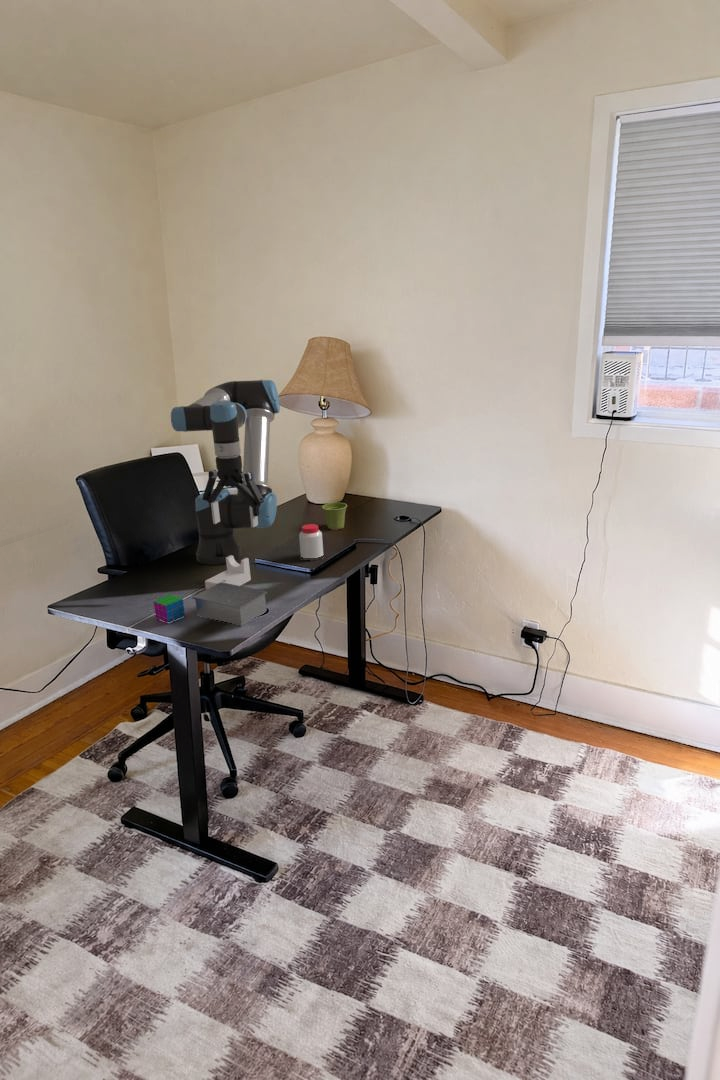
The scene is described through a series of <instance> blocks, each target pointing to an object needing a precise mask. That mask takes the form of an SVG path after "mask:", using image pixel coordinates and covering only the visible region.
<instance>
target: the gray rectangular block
mask: <svg viewBox="0 0 720 1080" xmlns="http://www.w3.org/2000/svg"><path fill="white" fill-rule="evenodd" d="M266 594H268V591H266V590H263V589H257V588H252V587H246V586H242V585H241V586H238V585H233V584H228V583H223V582H220V583H218V584H216V585H214V586H212V587H211V588H209V589H204V590H203V591H201V592H199V593H198V594H195V595H193V596H192V600H195V607H196V616H197V615H199V616H202V617H201V618H203V617H206V618H205V619H207V618H210V619H209V620H212V619H215V620H214V621H216V620H219V621H218V622H220V621H224V622H228V623H227V624H229V623H232V624H231V625H233V624H236V625H235V626H237V625H240V626H239V627H243V626H242V625H244V624H245V625H247V624H248V623H250V622H252V621H253V620H254V619H253V618H255V617H256V618H258V617H259V615H260V614H261V615H263V614H264V613H266V612H267V604H266V603H267V601H266ZM262 613H263V614H262ZM261 615H260V616H261ZM199 616H198V617H199ZM257 616H258V617H257ZM256 618H255V619H256ZM252 619H253V620H252ZM251 620H252V621H251ZM249 621H250V622H249ZM224 622H223V623H224ZM246 623H247V624H246ZM245 625H244V626H245Z"/></svg>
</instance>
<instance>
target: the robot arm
mask: <svg viewBox="0 0 720 1080" xmlns="http://www.w3.org/2000/svg"><path fill="white" fill-rule="evenodd" d="M280 411H281V408H280V398H279V391H278V390H277V386H276V383H275V382H274V381H273V380H270V379H260V380H259V379H258V380H238V381H237V380H236V381H235V380H231V381H227V382H224V383H221V384H218V385H216V386H214V387H211V388H209V389H208V390H207V391H206V392H205V393H204V394H203V396H202V397H201V398H199V399H197V400H195V401H194V402H193V403H191V404H190V405H187V406H184V405H183V406H182V405H181V406H174V407H173V408H172V409H171V411H170V424H171V426H172V429H173V430H174V431H176V432H184V433H187V432H201V431H207V432H208V431H212V440H213V447H214V456H216V458H215V466H216V469H217V470H216V469H212V470H210V471H208V480H207V483H206V486H205V488H204V491H203V492H202V493H201V494H199V495H197V497H195V500H194V502H195V505H194V506H195V510H194V511H195V514H196V521H197V528H198V529H197V530H198V538H199V539H198V544H197V548H196V553H195V555H196V561H197V562H198V563H199V564H203V565H209V566H215V565H216V566H217V565H224V564H226V557H228V556H230V555H233V556H234V559H235V561H237V560H239V559H240V558H241V556H242V552H241V551H242V550H241V547H240V546H239V544H238V541H237V539H236V537H235V533H234V529H239V530H240V529H264V528H265V529H266V528H269V527H272V525H273V524H274V522H275V519H276V515H277V508H278V507H277V505H278V504H277V503H278V498H277V495H276V494H275V493H274V492H273V490H272V489H273V488H272V487H270V485H269V482H268V480H269V459H270V436H271V435H270V431H271V430H270V429H271V422H273V421H274V420H275V415H276V414H279V413H280ZM243 426H244V438H243V439H244V440H243V441H244V443H243V459H242V456H241V453H242V451H241V440H240V434H239V429H240V428H242V427H243ZM242 460H243V461H242ZM217 478H218V479H219V481H218V482H217V484H216V481H217ZM215 484H216V487H215ZM214 487H215V488H214ZM225 487H226V488H227V489H226V488H225ZM229 487H230V488H236V489H237V493H232V494H231V493H230V490H229V489H228V488H229Z"/></svg>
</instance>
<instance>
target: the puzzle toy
mask: <svg viewBox="0 0 720 1080" xmlns="http://www.w3.org/2000/svg"><path fill="white" fill-rule="evenodd" d="M153 608H154V613H155V619H156V618H158V619H161V620H163V621H165V622H171V621H173V620H176V619H178V618H181V617H183V616H185V617H186V614H185V606H184V599H183V598H180V597H178V596H175V595H173V594H168V595H166V596H162V597H161V598H158V599H155V600H154V601H153Z"/></svg>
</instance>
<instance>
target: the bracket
mask: <svg viewBox="0 0 720 1080" xmlns="http://www.w3.org/2000/svg"><path fill="white" fill-rule="evenodd" d="M225 564H226V570H224V571H222V572H220V573H218V574H216V575H214V576H212V577H210V578H208V579H206V580H205V581H204V586H205V590H207V589H209V588H211V587H212V586H214V585H216V584H218V583H220V582H223V583H228V584H233V585H238V586H242V585H245V584H246V583H247V582H249V581H251V580H252V577H251V569H250V559H249V557H245V558H243V559H241V560H240V563H239V562H237V560H235V559H234V556H233V555H230V556H228V557H226V563H225Z"/></svg>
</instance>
